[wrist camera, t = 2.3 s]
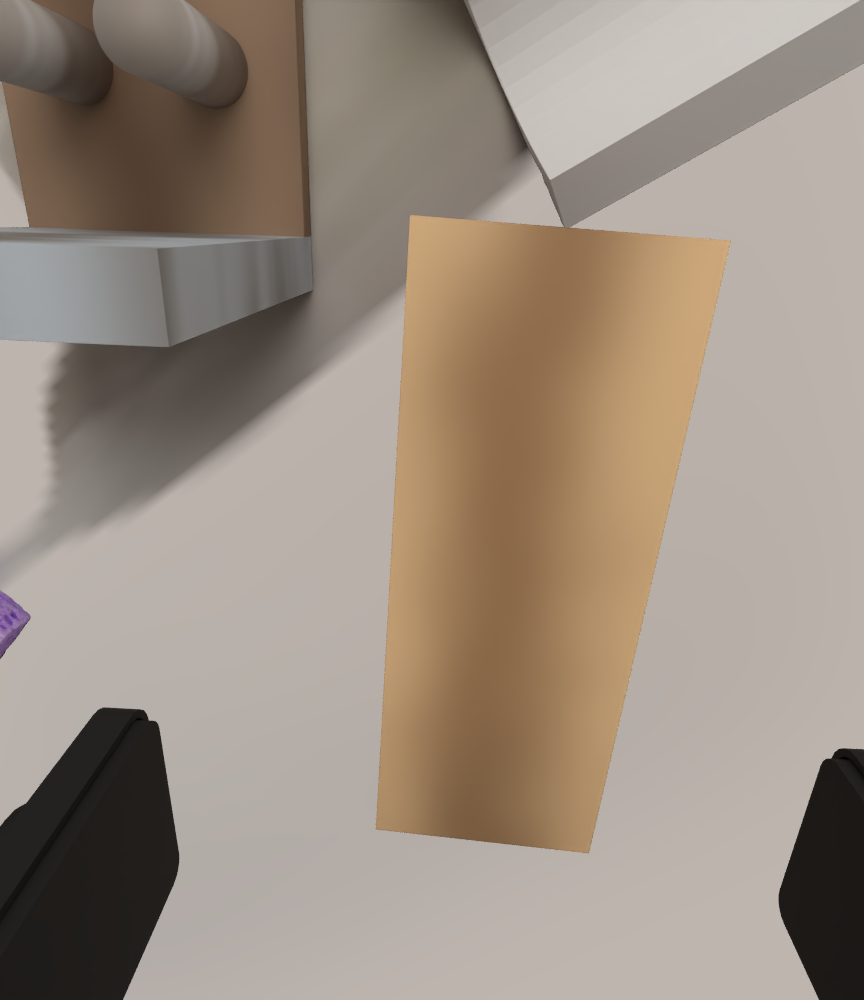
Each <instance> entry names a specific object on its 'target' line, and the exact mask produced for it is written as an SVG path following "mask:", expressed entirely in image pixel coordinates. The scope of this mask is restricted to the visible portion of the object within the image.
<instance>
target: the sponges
mask: <svg viewBox="0 0 864 1000" xmlns="http://www.w3.org/2000/svg"><path fill="white" fill-rule="evenodd" d="M30 618H31V616H30V614H29V613H27V612H26V611H24V610H23V608H22V607H21V606H20V605H19V604H17V603H16V602H15V601H14V600H13V599H12V598H11V597H9V596H8V595H7V594H5V593H3V592H2V591H1V590H0V659H1V658H2V657H3V655H4V654H5V652H6V649H7V648H8V647H9V646H10V645H11V644H12V643H13V642H14V640H15V639H16V638H17V636H18V635H19V634H20V632H21V631H22V629H23V628H24V626H25V625H26V624H27V622H28V621H29V620H30Z"/></svg>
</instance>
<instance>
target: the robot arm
mask: <svg viewBox="0 0 864 1000" xmlns="http://www.w3.org/2000/svg"><path fill="white" fill-rule="evenodd" d="M178 866H179V851H178V845H177V839H176V832H175V825H174V819H173V813H172V806H171V800H170V794H169V787H168V781H167V774H166V768H165V762H164V756H163V749H162V743H161V736H160V731H159V726H158V724H157V722H156V721H149V720H148V717H147V714H146V713H145V711H144V710H140V709H121V708H102V709H99V710H98V711H97V712H96V713H95V714H94V715H93V716H92V717H91V719H90V720H89V721H88V723H87V724H86V725H85V727H84V728H83V729H82V731H81V732H80V733H79V735H78V736H77V737H76V738H75V740H74V741H73V742H72V744H71V745H70V746H69V748H68V749H67V750H66V752H65V753H64V754H63V756H62V757H61V758H60V760H59V761H58V762H57V764H56V765H55V766H54V767H53V769H52V770H51V772H50V773H49V774H48V775H47V777H46V778H45V779H44V781H43V782H42V783H41V785H40V786H39V787H38V789H37V790H36V791H35V793H34V794H33V795H32V796H31V798H30V799H29V801H28V802H27V803H26V804H24V805H23V806H21V807H19V808H17V809H16V810H14V811H13V812H12V813H11V815H10V816H9V817H8V818H7V819H6V820H5V821H4V823H3V824H2V825H1V826H0V1000H123V998H124V996H125V994H126V991H127V989H128V987H129V984H130V982H131V980H132V978H133V976H134V973H135V971H136V969H137V967H138V964H139V962H140V960H141V957H142V955H143V953H144V951H145V948H146V946H147V944H148V942H149V939H150V937H151V935H152V932H153V930H154V928H155V926H156V923H157V921H158V919H159V916H160V914H161V912H162V910H163V907H164V905H165V903H166V900H167V898H168V896H169V894H170V891H171V889H172V887H173V885H174V882H175V879H176V876H177V872H178ZM779 908H780V913H781V917H782V919H783V922H784V925H785V927H786V929H787V931H788V933H789V936H790V938H791V940H792V942H793V944H794V946H795V949H796V951H797V953H798V955H799V957H800V959H801V961H802V964H803V966H804V968H805V970H806V972H807V975H808V977H809V979H810V981H811V983H812V985H813V987H814V990H815V992H816V994H817V996H818V998H819V1000H864V750H863V749H838V750H837V751H836V752H835V753H834V755H833V757H832V759H825V760H824V761H823V762H822V764H821V766H820V770H819V773H818V775H817V779H816V782H815V785H814V788H813V791H812V794H811V797H810V800H809V803H808V806H807V809H806V812H805V815H804V818H803V821H802V824H801V827H800V830H799V833H798V836H797V839H796V842H795V845H794V849H793V851H792V854H791V857H790V860H789V863H788V867H787V869H786V872H785V876H784V879H783V882H782V885H781V888H780V891H779Z"/></svg>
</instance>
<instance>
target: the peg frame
mask: <svg viewBox="0 0 864 1000" xmlns="http://www.w3.org/2000/svg"><path fill="white" fill-rule="evenodd" d="M0 81H2V83H3V89H4V94H5V99H6V105H7V110H8V115H9V120H10V126H11V131H12V136H13V142H14V147H15V152H16V158H17V163H18V168H19V174H20V179H21V184H22V190H23V195H24V200H25V206H26V211H27V216H28V221H29V227H21V228H19V227H16V228H15V227H11V228H0V340H19V341H40V342H62V343H85V344H107V345H129V346H152V347H171V346H173V345H176V344H178V343H181V342H183V341H186V340H189V339H191V338H194V337H196V336H199V335H201V334H204V333H206V332H209V331H211V330H214V329H216V328H219V327H221V326H224V325H226V324H229V323H231V322H234V321H236V320H239V319H241V318H244V317H246V316H249V315H251V314H254V313H256V312H259V311H261V310H264V309H267V308H269V307H272V306H274V305H277V304H279V303H282V302H284V301H287V300H289V299H292V298H294V297H297V296H299V295H302V294H304V293H307V292H309V291H312V290H313V279H312V252H311V224H310V197H309V170H308V142H307V115H306V88H305V60H304V33H303V5H302V0H0Z"/></svg>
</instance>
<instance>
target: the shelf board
mask: <svg viewBox="0 0 864 1000" xmlns="http://www.w3.org/2000/svg"><path fill="white" fill-rule="evenodd" d="M730 243H731V241H728V240H716V239H703V238H690V237H677V236H666V235H653V234H640V233H628V232H615V231H603V230H590V229H578V228H565V227H552V226H540V225H527V224H515V223H502V222H490V221H477V220H465V219H452V218H439V217H427V216H414V215H410V228H409V246H408V264H407V281H406V299H405V317H404V336H403V353H402V354H403V355H402V373H401V391H400V407H399V426H398V444H397V461H396V479H395V497H394V515H393V516H394V517H393V534H392V552H391V570H390V587H389V605H388V622H387V640H386V658H385V677H384V695H383V712H382V731H381V748H380V766H379V785H378V802H377V821H376V829H377V830H387V831H395V832H404V833H413V834H422V835H431V836H440V837H449V838H458V839H467V840H476V841H484V842H493V843H502V844H512V845H520V846H529V847H538V848H547V849H555V850H565V851H573V852H582V853H589V851H590V846H591V842H592V838H593V833H594V829H595V824H596V820H597V816H598V812H599V807H600V803H601V799H602V794H603V790H604V786H605V782H606V777H607V773H608V769H609V764H610V760H611V756H612V751H613V747H614V743H615V739H616V734H617V729H618V726H619V721H620V717H621V713H622V708H623V704H624V700H625V695H626V691H627V687H628V683H629V678H630V674H631V670H632V665H633V661H634V657H635V652H636V648H637V643H638V639H639V635H640V631H641V626H642V622H643V618H644V614H645V609H646V605H647V601H648V596H649V592H650V588H651V583H652V579H653V575H654V570H655V566H656V562H657V557H658V553H659V549H660V544H661V540H662V536H663V531H664V527H665V523H666V519H667V514H668V510H669V506H670V501H671V497H672V493H673V488H674V484H675V479H676V476H677V471H678V467H679V462H680V458H681V454H682V449H683V445H684V441H685V437H686V432H687V428H688V424H689V420H690V415H691V410H692V407H693V402H694V398H695V394H696V389H697V385H698V381H699V376H700V372H701V368H702V363H703V359H704V355H705V350H706V346H707V342H708V338H709V333H710V329H711V325H712V320H713V316H714V311H715V307H716V303H717V299H718V294H719V290H720V286H721V282H722V277H723V273H724V268H725V264H726V260H727V256H728V251H729V247H730Z"/></svg>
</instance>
